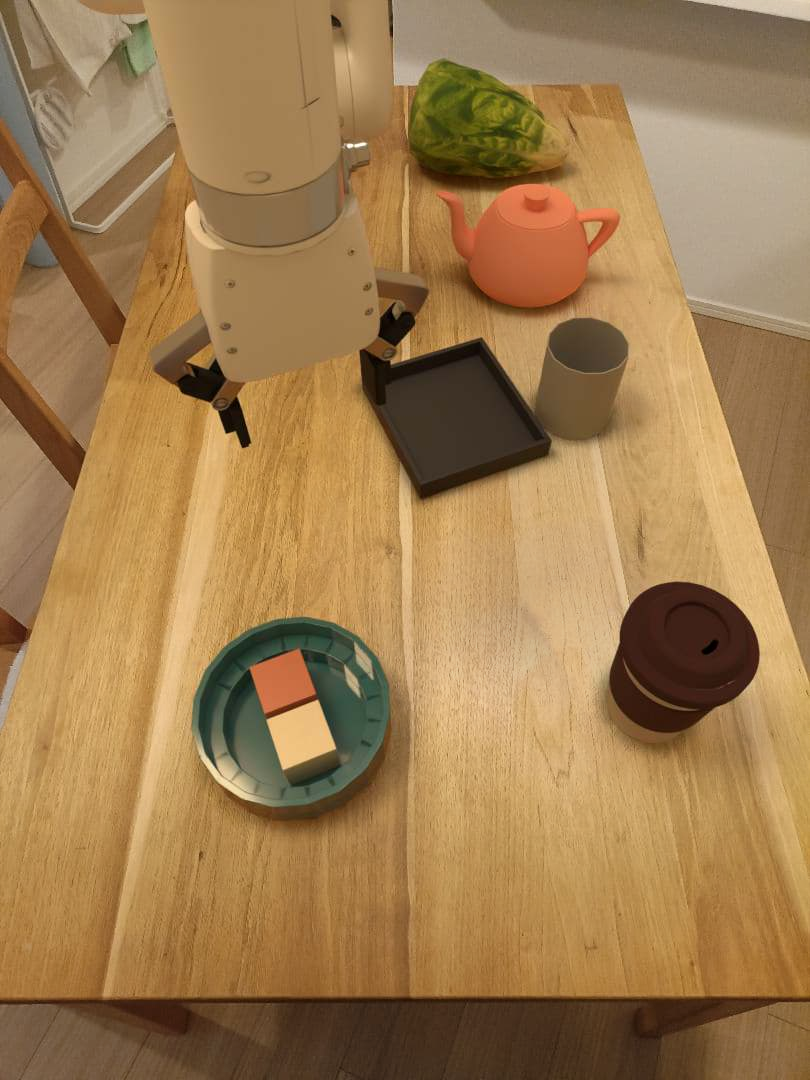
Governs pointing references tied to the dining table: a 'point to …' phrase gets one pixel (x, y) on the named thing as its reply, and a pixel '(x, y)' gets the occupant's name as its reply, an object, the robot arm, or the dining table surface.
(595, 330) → the cup
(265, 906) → the dining table surface
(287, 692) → the block
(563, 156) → the lettuce
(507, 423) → the tray
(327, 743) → the block
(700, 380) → the dining table surface
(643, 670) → the coffee cup
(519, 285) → the teapot
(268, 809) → the bowl
